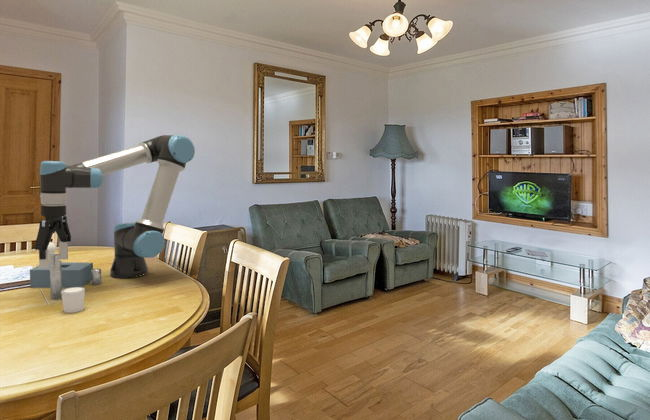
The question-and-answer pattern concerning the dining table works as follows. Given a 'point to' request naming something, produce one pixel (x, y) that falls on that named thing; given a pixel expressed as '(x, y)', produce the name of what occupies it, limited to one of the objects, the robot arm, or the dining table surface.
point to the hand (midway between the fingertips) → (54, 263)
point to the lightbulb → (51, 248)
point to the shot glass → (73, 299)
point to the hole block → (63, 275)
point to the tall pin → (55, 276)
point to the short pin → (96, 276)
